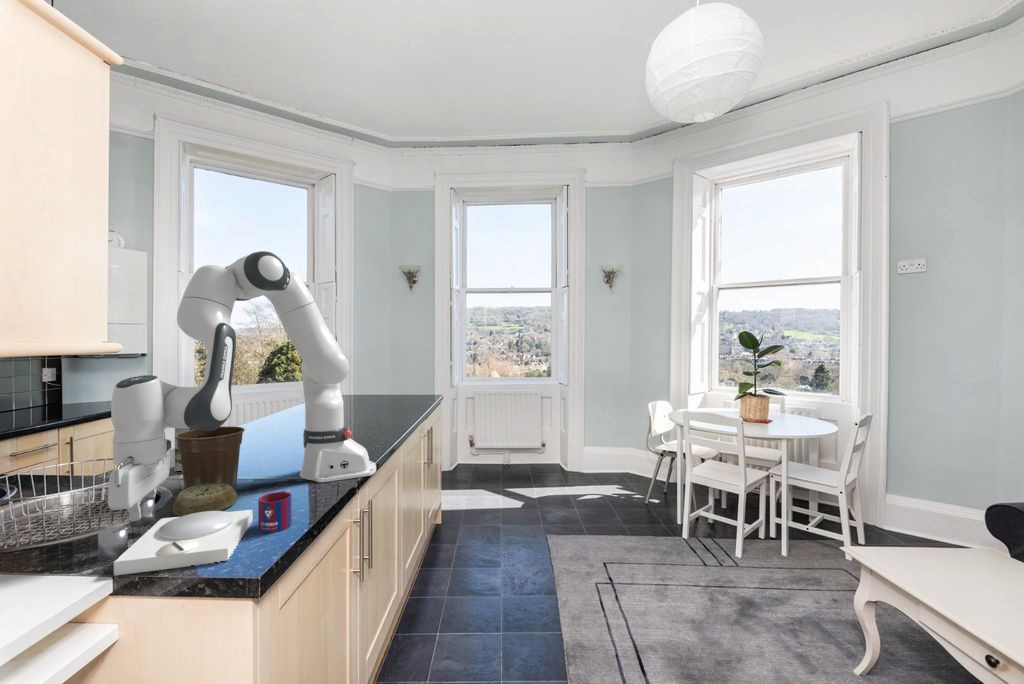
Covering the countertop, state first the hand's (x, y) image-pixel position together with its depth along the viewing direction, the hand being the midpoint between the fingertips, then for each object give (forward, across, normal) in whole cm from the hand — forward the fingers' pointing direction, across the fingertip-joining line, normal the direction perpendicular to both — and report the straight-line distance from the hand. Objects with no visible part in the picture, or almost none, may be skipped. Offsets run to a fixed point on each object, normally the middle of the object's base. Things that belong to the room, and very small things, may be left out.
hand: (142, 514), depth 99 cm
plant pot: (+5, +28, -5) cm, 29 cm away
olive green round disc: (+5, +13, -8) cm, 16 cm away
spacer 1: (+4, -10, +1) cm, 11 cm away
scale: (+4, -9, -12) cm, 16 cm away
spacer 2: (+2, 0, 0) cm, 2 cm away
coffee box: (+5, +51, +5) cm, 51 cm away
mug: (+5, -3, -27) cm, 28 cm away
